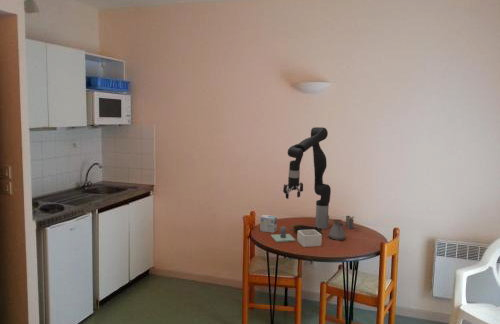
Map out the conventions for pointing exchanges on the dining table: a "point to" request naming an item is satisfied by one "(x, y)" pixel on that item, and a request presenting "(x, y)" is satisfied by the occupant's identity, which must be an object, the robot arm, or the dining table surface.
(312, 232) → the tub
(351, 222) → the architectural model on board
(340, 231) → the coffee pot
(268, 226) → the light bulb box
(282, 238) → the lid
